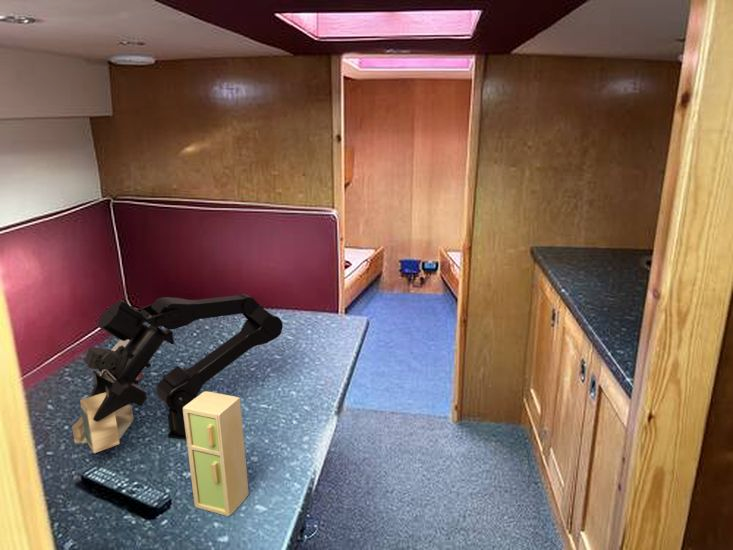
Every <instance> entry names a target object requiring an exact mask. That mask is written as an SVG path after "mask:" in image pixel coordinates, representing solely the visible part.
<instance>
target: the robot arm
mask: <svg viewBox="0 0 733 550" xmlns="http://www.w3.org/2000/svg"><path fill="white" fill-rule="evenodd" d="M240 314H241V315H242V316H243V317H244V318H245V319H246V320H245V322H244V324H243V325H242V327H241V329H240V331H239V332H237V333H236V334H235V335H233V336H232V337H231V338H229V339H227V340H226V341H225V342H224V343H222V344H221V345H219V346H218V347H217V348H216V349H214V350H213V351H212V352H210V353H209V354H208V355H206V356H204V357H203V358H202V359H201V360H199V361H198V362H196V363H195V364H193V366H190V367H189V368H185V369H183V368H182V367H180V366H179V365H177V366H175V367H174V368H173V369H171V370H170V372H168V373H166V374H163V375H162V376H161V378H162V379H160V380H159V382H158V383H157V386H156V395H157V397H158V398H159V399H160V400H161V401H162V402H163V403H164V404H165V405H166V406H167V407H168V414H167V422H168V430H169V432H168V434H167V438H173V439H180V440H181V439H183V440H187V439H186V432H185V423H184V416H183V407H184V406H185V405H187V404H188V403H189V402H191V401H192V400H193V399H195V398H196V397H197V396H199V393H200V391H201V390H202V388H203V386H204V385H205V384H206V383H207V382H208V381H209V380H211V379H212V378H214V377H215V376H216V375H218V374H219V373H220V372H222V371H223V370H224V369H225V368H227V367H228V366H230V365H231V364H232V363H233V362H235V361H236V360H238V359H239V358H240V357H241V356H243V355H244V354H245V353H247V352H248V351H249V350H251V349H253V348H254V347H259V346H261V345H265V344H268V343H270V342H272V341H274V340H275V339H278V337H280V335H281V334H282V332H283V325H284V324H283V321H282V319H281V318H280V317H278V316H276V315H274V314H272V313H270V311H267V310H266V309H265V308H264V307H263V306H261V305H260V304H259V303H258V302H257V300H256V299H255V298H253V297H251V296H250V295H248V294H245V293H239V294H235V295H228V296H219V297H211V298H210V297H209V298H201V299H200V298H199V299H185V298H180V297H170V296H168V297H167V296H162V297H159V298H157V299H155V301H154V302H153V303H152V304H148V305H146V306H142V307H141V308H140V307H139V308H137V309H134V308H133V307H131V306H130V305H129V304H128V303H126V302H125V301H124V300H122V299H118V301H117V302H116V303H114V304H112V305H110V306H109V307H108V308H106V309H105V310H104V311H103V312H102V313H101V315H100V317H99V319H98V322H97V326H98V327H97V328H99V329H101V330H102V331H105V332H106V333H108V334H110V335H112V336H113V337H115V338H117V339H118V340H122V341H126V340H128V339H129V340H130V341H129V342H128V344H127V345H126V346H125V347H124V346H122V345H121V346H119V347H118V349H117V350H116V351H113V350H112V349H108V348H101V347H94V346H89V347H88V349H87V352H86V355H85V358H84V363H85V364H86V365H87V367H88V368H90V369H92V370H93V371H92V374H93V377H94V385H93V389H91V391H92V392H91V393H90V396H89V397H91V396H95V395H98V394H101V393H105V392H106V397H105V399H104V400H103V402H102V404H101V405H100V407H99V409H98V410H97V412H96V414H95V416H94V418H93V420H95V421H97V422H98V421H100V420H101V419H103V418H105V417H106V416H108V415H110V414H112V413H113V412H115V411H117V410H118V409H120V408H122V407H124V406H126V405H133V404H134V405H136V406H139V407H142V406H143V405H144V403H145V402H146V401H147V399H148V397H147V392H146V391H145V390H144V388H142V387H141V386H140V385H138V384H139V382H140V380H139V381H138V380H137V379H136V378H137V377H138V375H139V374H140V373H141V371H142V372H143V370H144V369H145V368H147V369H149V368H150V367H151V366H152V364H151V363H150V361H151V359H152V358H153V356H154V355H155V354H156V352H157V351H158V350H159V348H160V347H161V346H162V344H163V343H164V341H165V342H167V343H168V344H170V345H175V339H174V336H173V335H174V332H173V331H172V330H175V329H179V328H183V327H185V326H188V325H190V324H191V323H192V324H193V322H195V321H198V320H204V319H210V318H216V317H219V318H220V317H225V316H235V315H240ZM145 322H146V324H145ZM147 323H148V325H147ZM161 327H163V328H164V329H163V328H161ZM96 370H97V371H96Z"/></svg>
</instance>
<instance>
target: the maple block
mask: <svg viewBox="0 0 733 550" xmlns="http://www.w3.org/2000/svg"><path fill="white" fill-rule="evenodd" d="M90 396H91V395H90ZM90 396H89V397H86V398H82V399H80V400H79V402H80V411H81V417H82V418H83V424H84V430H85V436H86V439H87V443H86V444H87V445H88V446H89V447H90V449H91V450H92V452H93V454H96V453H99V452H101V451H104V450H107V449H110V448H112V447H115V446H117V445H118V446H119V445H120V444H121V443H120V440H119V436H118V430H117V423H116V416H115V412H113V413H112V414H110V415H108V416H106V417H105V418H103V419H101V420H100V421H98V422H97V421H95V420H93V418H94V416H95V414H96V412H97V410H98V409H99V407H100V405H101V404H102V402H103V400H104V399H105V397H106V392H105V393H101V394H98V395H95V396H91V397H90Z"/></svg>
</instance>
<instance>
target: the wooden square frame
mask: <svg viewBox="0 0 733 550" xmlns="http://www.w3.org/2000/svg"><path fill="white" fill-rule="evenodd" d="M133 413H134V411H133V404H128V405H126V406H124V407H122V408H120V409H118V410H117V411H115V416H116V423H117V430H118V436H119V441H120V440H121V438H122V437H123V436H124V434H125V433H126V431H127V430H128V428H130V426H131V424H132V423H133V422H134V414H133ZM71 428H72V429H71V430H72V436H73V440H74V444H88V443H87V439H86V436H85V430H84V424H83V418H82V416H80V418H79V419H78V420H77V421H76V422H75V423H74V424H73V425H72V426H71Z"/></svg>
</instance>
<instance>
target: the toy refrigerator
mask: <svg viewBox="0 0 733 550" xmlns="http://www.w3.org/2000/svg"><path fill="white" fill-rule="evenodd" d="M183 416H184V423H185V432H186V439H185V440H186V445H187V453H188V454H187V455H188V463H189V471H190V479H191V480H190V481H191V487H192V495H193V502H194V507H195V508H197V509H200V510H205V511H208V512H212V513H215V514H219V515H222V516H226V517H230V516H231V515H233V514H234V513H235V511H237V509H238V508H239V507H240V505H242V503H244V501H245V500H246V499H247V498H248V496H249V495H250V494H249V493H250V492H249V483H248V482H249V479H248V470H247V461H246V460H247V458H246V450H245V447H246V446H245V439H244V438H245V436H244V428H243V427H244V425H243V415H242V404H241V398H240V397H238V396H233V395H229V394H224V393H223V394H222V393H219V392H218V393H217V392H213V391H207V390H206V391H202V393H200V394H198V395H197V397H196V398H195V399H193V400H192V401H191V402H189V403H188V404H187V405H185V406H184V407H183Z"/></svg>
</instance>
